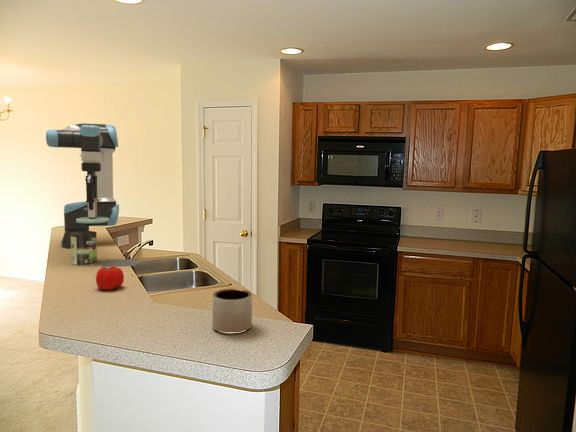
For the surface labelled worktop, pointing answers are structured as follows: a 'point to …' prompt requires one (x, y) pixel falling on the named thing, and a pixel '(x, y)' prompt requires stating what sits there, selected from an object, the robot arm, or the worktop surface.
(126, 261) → the mat
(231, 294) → the planter
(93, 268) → the worktop surface
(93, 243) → the coffee can
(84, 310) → the worktop surface
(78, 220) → the cover
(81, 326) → the worktop surface
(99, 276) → the tomato
